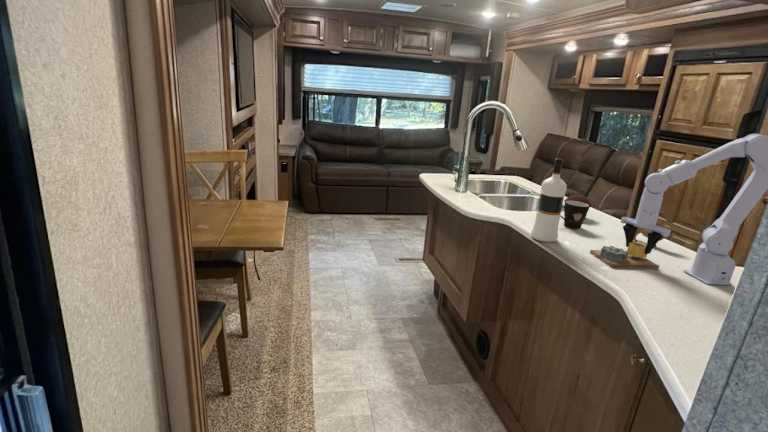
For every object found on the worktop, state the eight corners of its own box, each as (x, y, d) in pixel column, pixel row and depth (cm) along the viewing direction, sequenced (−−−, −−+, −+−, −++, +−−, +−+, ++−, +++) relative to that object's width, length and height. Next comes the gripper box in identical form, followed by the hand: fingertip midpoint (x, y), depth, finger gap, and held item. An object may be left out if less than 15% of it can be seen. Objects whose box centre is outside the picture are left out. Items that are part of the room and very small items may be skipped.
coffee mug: (584, 226, 169) (589, 203, 166) (581, 231, 162) (587, 207, 159) (555, 220, 175) (560, 198, 172) (551, 225, 168) (556, 202, 165)
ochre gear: (649, 256, 133) (652, 246, 132) (640, 259, 130) (643, 249, 129) (632, 250, 137) (635, 240, 136) (623, 252, 135) (626, 242, 134)
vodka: (525, 235, 153) (539, 156, 144) (545, 233, 156) (560, 156, 147) (541, 243, 145) (558, 160, 136) (562, 242, 148) (579, 161, 139)
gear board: (658, 269, 129) (661, 257, 128) (611, 267, 127) (614, 255, 126) (633, 254, 141) (636, 243, 139) (589, 253, 139) (592, 241, 138)
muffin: (581, 222, 175) (586, 199, 172) (556, 215, 183) (561, 194, 180) (592, 218, 183) (597, 196, 180) (568, 211, 191) (572, 191, 188)
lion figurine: (668, 248, 149) (675, 225, 147) (662, 251, 146) (669, 227, 144) (627, 236, 161) (633, 214, 158) (621, 238, 157) (626, 216, 155)
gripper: (679, 215, 125) (667, 256, 129) (633, 203, 137) (623, 240, 141) (667, 217, 122) (655, 259, 126) (621, 205, 134) (611, 243, 138)
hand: (637, 249), depth 133 cm, fingers closed on ochre gear, 6 cm apart
